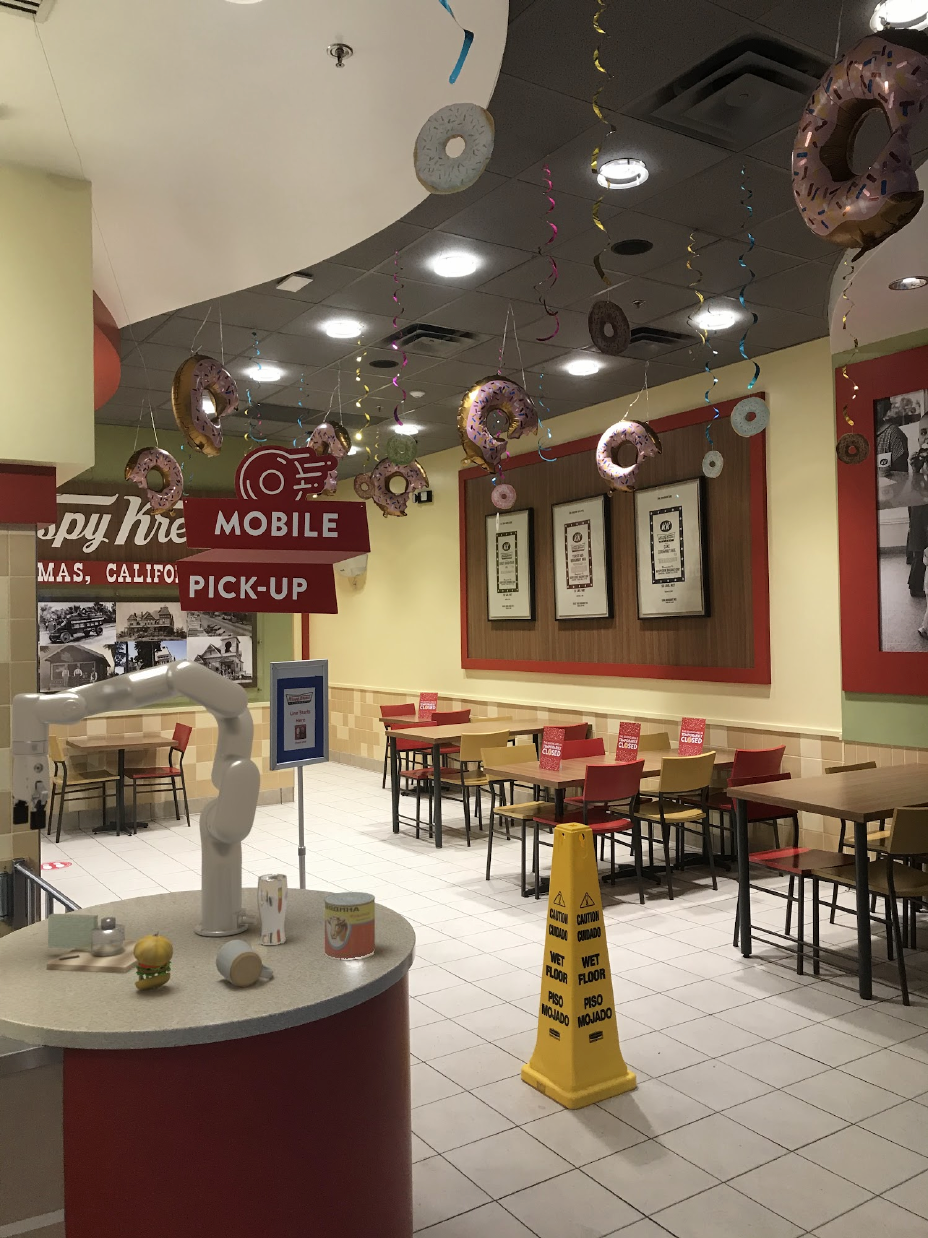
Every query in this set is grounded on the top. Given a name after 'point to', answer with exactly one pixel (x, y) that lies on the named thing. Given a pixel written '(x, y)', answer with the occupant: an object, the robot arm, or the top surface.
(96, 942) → the green panel with knob
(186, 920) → the top surface
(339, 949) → the canned food
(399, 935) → the top surface
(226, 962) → the ceramic mug
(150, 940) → the hamburger
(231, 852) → the robot arm
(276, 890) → the beer glass
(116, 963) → the board
